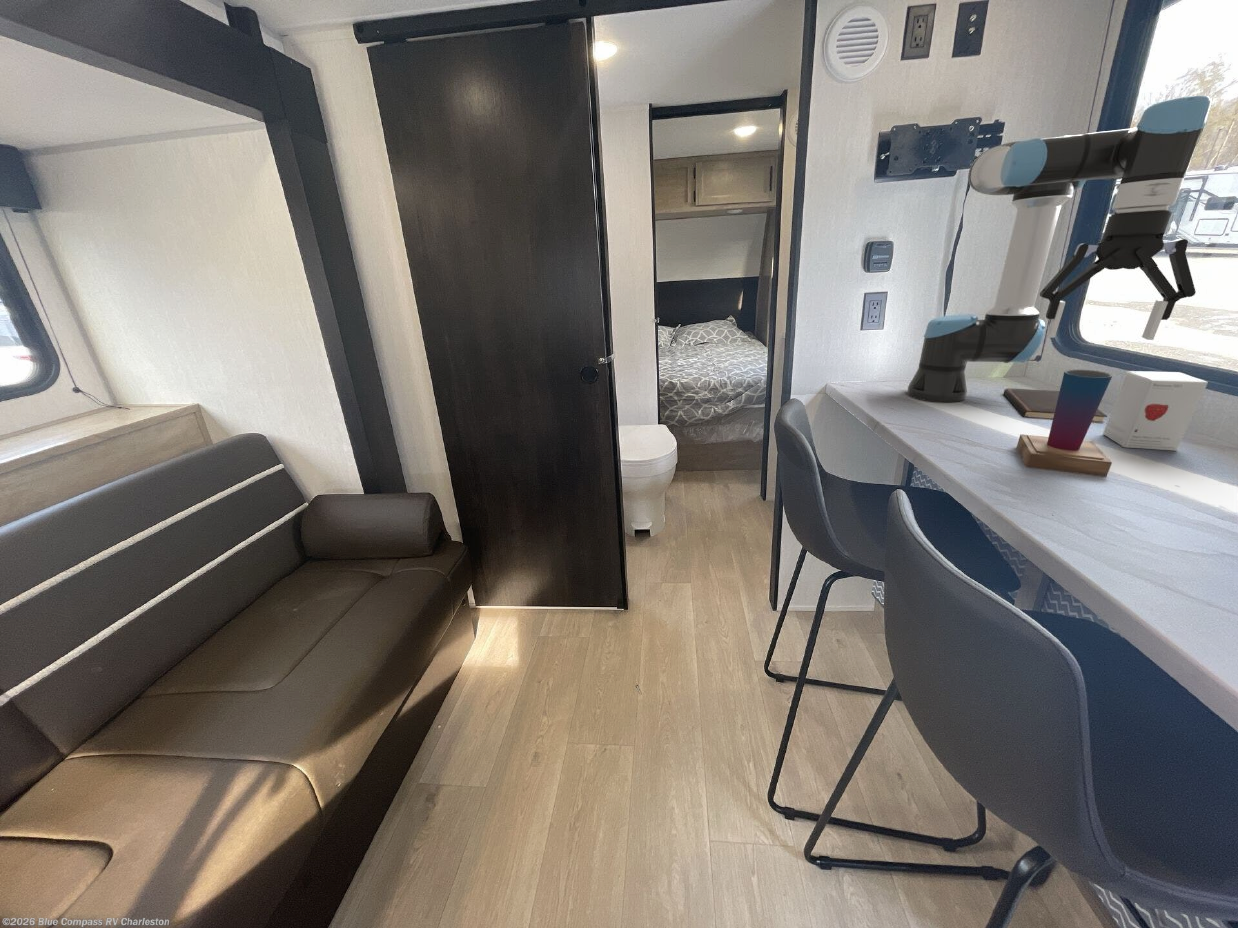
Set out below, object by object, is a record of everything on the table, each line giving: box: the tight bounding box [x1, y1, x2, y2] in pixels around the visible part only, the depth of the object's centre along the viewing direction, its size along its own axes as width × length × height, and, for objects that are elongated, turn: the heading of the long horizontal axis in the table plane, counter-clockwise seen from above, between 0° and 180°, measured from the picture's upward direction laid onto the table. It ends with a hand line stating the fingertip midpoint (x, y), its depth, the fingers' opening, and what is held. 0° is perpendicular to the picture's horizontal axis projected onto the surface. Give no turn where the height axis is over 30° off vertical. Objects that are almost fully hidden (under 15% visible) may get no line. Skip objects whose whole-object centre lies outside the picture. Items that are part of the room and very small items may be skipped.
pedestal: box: [1016, 433, 1113, 477], centre depth 98 cm, size 12×12×3 cm
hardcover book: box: [1003, 387, 1108, 423], centre depth 129 cm, size 16×23×2 cm
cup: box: [1047, 369, 1113, 450], centre depth 94 cm, size 7×7×15 cm
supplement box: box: [1102, 370, 1209, 452], centre depth 102 cm, size 9×9×15 cm
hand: (1097, 337), depth 89 cm, fingers open, 13 cm apart
